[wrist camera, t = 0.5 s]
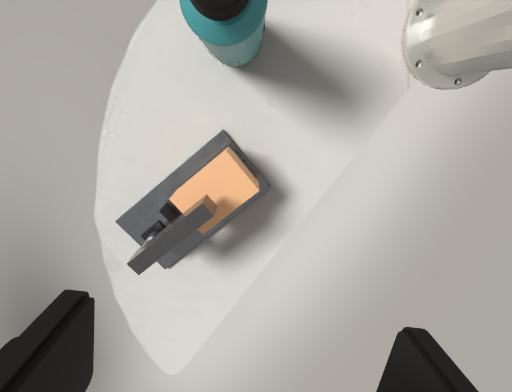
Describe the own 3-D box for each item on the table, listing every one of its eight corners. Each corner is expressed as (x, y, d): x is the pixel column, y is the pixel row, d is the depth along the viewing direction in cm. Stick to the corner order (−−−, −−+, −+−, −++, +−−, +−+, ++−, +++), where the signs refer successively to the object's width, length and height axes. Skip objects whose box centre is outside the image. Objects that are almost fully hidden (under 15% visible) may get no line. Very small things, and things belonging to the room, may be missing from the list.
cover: (228, 146, 37) (226, 151, 33) (258, 181, 38) (259, 190, 35) (176, 189, 39) (168, 199, 35) (207, 222, 40) (202, 234, 36)
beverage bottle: (273, 40, 35) (300, -32, 16) (235, 82, 37) (218, 59, 18) (234, -5, 34) (214, -143, 15) (196, 40, 35) (131, -33, 16)
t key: (210, 185, 36) (201, 202, 30) (220, 197, 36) (214, 216, 30) (146, 237, 38) (126, 263, 32) (157, 247, 38) (139, 275, 32)
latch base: (222, 129, 38) (219, 133, 34) (270, 186, 41) (272, 196, 37) (117, 219, 42) (102, 232, 38) (166, 267, 44) (157, 283, 40)
